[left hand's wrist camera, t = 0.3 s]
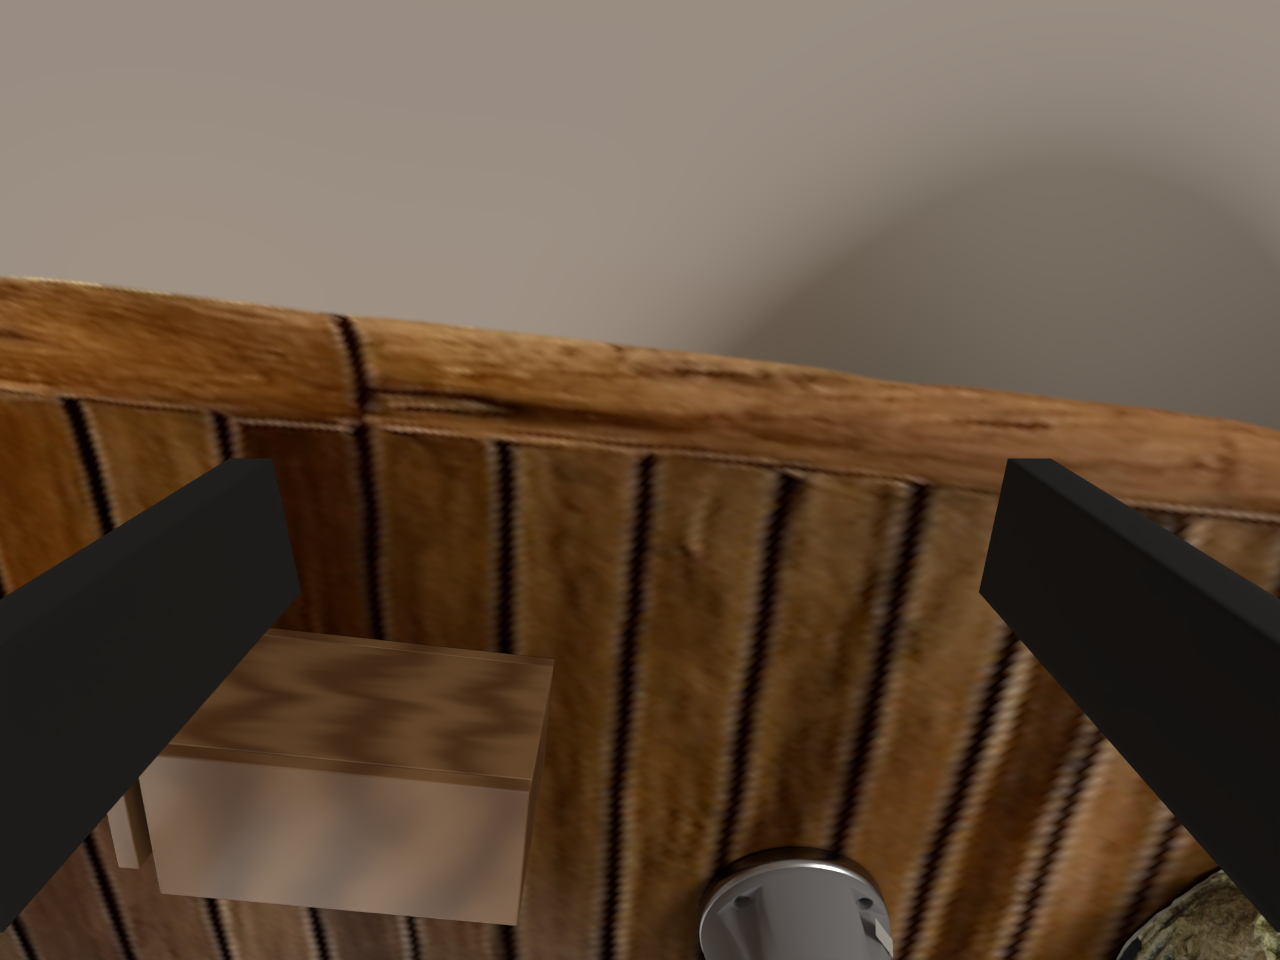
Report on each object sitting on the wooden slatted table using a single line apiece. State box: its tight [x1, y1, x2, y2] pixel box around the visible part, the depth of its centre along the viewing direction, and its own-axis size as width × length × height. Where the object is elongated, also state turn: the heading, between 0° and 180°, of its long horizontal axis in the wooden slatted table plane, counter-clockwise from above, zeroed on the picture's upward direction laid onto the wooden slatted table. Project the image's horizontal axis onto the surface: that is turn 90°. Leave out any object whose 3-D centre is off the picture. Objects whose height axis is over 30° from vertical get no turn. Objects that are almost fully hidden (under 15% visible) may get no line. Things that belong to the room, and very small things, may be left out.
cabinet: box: [139, 628, 555, 925], centre depth 43 cm, size 21×11×12 cm, turn 82°
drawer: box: [107, 778, 152, 869], centre depth 43 cm, size 26×9×10 cm, turn 82°
